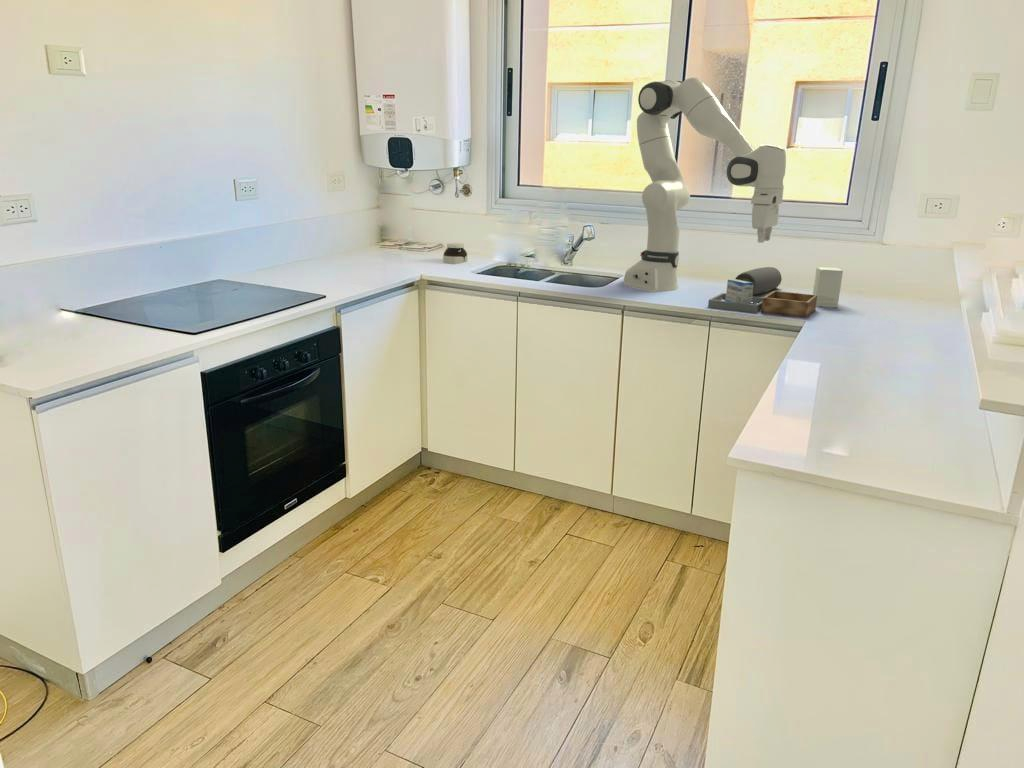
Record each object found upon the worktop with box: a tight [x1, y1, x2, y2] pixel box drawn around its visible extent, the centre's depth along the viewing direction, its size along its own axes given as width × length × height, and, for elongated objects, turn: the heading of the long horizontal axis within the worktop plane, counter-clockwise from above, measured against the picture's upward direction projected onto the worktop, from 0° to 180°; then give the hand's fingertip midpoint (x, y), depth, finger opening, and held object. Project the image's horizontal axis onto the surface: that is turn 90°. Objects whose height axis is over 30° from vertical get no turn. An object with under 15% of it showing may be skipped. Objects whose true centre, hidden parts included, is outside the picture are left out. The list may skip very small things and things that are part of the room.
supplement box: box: [812, 266, 844, 308], centre depth 257 cm, size 7×7×13 cm
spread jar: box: [442, 242, 468, 265], centre depth 311 cm, size 12×11×12 cm
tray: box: [707, 292, 763, 314], centre depth 252 cm, size 16×16×2 cm
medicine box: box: [724, 278, 754, 304], centre depth 252 cm, size 8×4×9 cm, turn 29°
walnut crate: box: [760, 290, 817, 319], centre depth 246 cm, size 14×16×5 cm
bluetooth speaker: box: [734, 266, 783, 297], centre depth 272 cm, size 23×9×10 cm, turn 139°
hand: (763, 241), depth 244 cm, fingers open, 6 cm apart
